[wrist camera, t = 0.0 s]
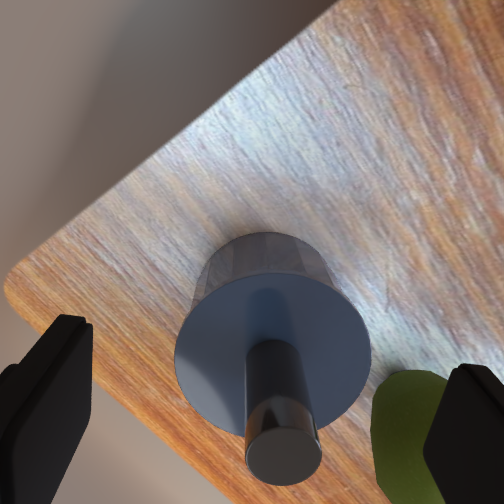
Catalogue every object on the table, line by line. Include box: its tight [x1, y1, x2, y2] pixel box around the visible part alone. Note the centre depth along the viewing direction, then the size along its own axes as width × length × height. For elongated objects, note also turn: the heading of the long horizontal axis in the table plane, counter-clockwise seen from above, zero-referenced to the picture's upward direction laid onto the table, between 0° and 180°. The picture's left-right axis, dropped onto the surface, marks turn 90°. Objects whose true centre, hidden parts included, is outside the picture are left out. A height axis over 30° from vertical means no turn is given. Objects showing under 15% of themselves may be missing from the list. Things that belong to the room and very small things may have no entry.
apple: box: [370, 370, 448, 504], centre depth 29 cm, size 9×8×12 cm
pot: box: [190, 232, 344, 310], centre depth 28 cm, size 10×10×8 cm
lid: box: [174, 269, 372, 486], centre depth 21 cm, size 11×11×8 cm
